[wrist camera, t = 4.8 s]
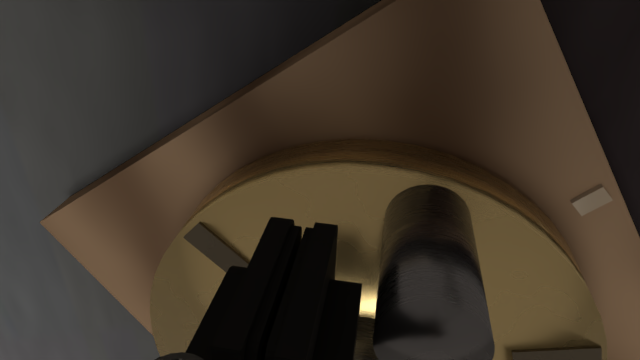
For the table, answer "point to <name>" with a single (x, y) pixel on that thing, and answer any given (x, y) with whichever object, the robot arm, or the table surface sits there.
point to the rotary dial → (395, 254)
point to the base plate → (392, 125)
